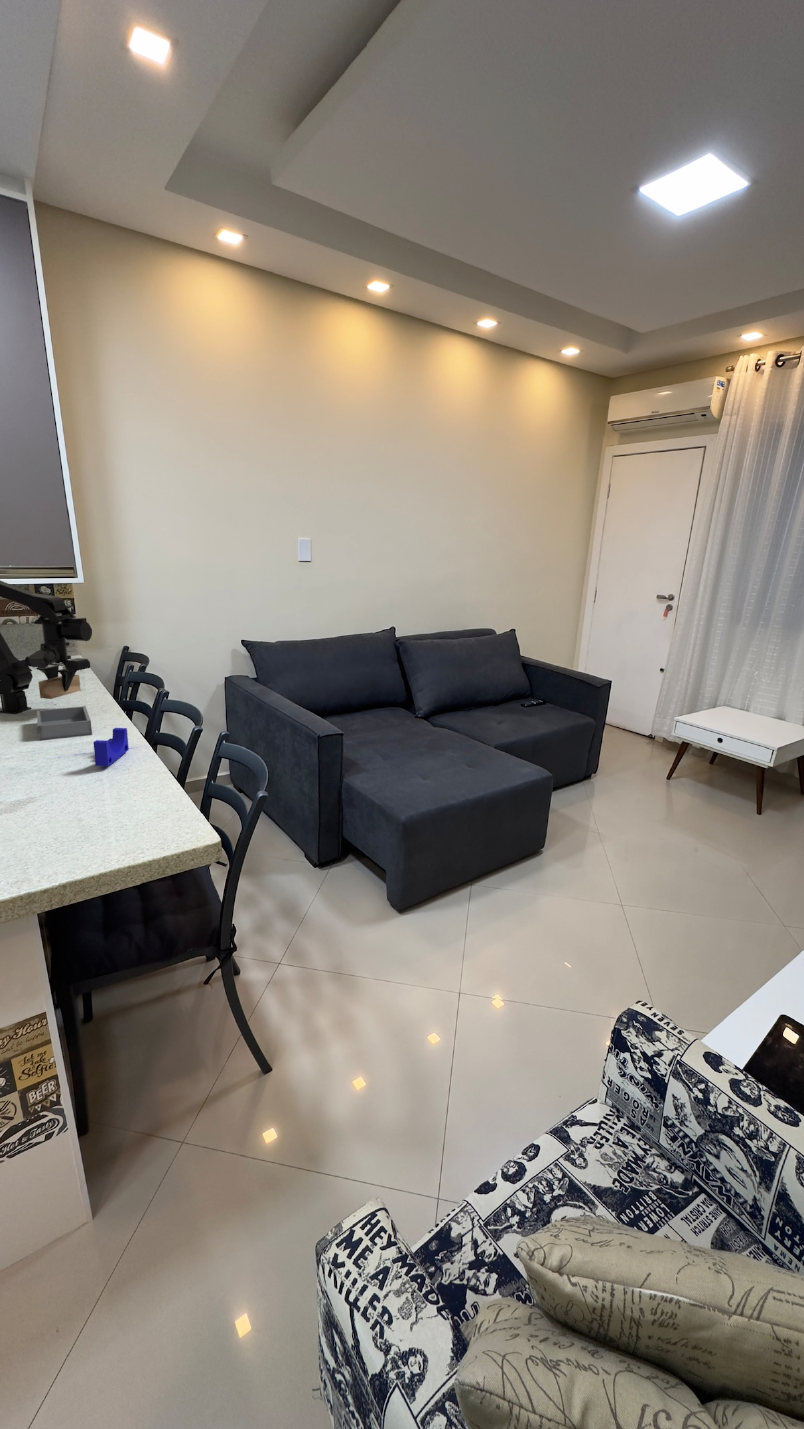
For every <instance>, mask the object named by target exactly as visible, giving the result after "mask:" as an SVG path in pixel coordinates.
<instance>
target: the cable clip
mask: <svg viewBox="0 0 804 1429" xmlns="http://www.w3.org/2000/svg"><path fill="white" fill-rule="evenodd" d="M128 736H129V735H128V728H127V727H114V728H113V729H112V738H109V739H107V740H104V739H103V740H99V739H97V740H94V741H93V752H94V754H93V755H94V762H95V763H94V764H95V767H96V766H97V767H109V766H110V765H111V764H113V763H115V761H117V760H118V759H119V758H121V757H122V756H123V755H124V754H125V753H126V752H128V751H129V750H130V749H129V738H128Z"/></svg>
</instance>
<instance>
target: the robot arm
mask: <svg viewBox="0 0 804 1429" xmlns="http://www.w3.org/2000/svg"><path fill="white" fill-rule="evenodd" d="M0 597H2V598H4V599H6V600H9V601H12V602H14V603H18V604H20V605H23V606H25V607H26V608H28V609H30V611H32V612H33V613H35V614H36V615H38V618H37V619H36V620H35V621H34V623H33V624H34V625H41V629H42V636H43V643H40V649H39V650H36V651H34V652H33V653H32V654H30V655H28V656H26V657H25V659H18V658H17V657H16V656H15V655H14V653H13V652H12V650H11V648H10V647H9V644H8V643H7V641H6V640H5V638H4V636H3V635H2V633H1V632H0V705H1V709H0V713H5V714H14V715H15V714H18V713H21V712H25V711H28V710H31V709H32V706H28V700H27V699H28V698H27V696H26V692H25V690H28V689H29V688H30V683H31V682H32V679H33V677H34V676H33V674H32V672H33V670H32V669H31V668H34V669H35V668H36V670H38V671H39V672H42V674H44V676H45V677H46V680H47V679H51V678H56V677H59V675H60V676H62V682H63V688H64V691H68V689H69V687H70V684H71V682H72V679H73V677H74V675H76V673H77V672H78V671H83V670H87V669H90V668H91V662H90V660H89V659H88V658H81V657H77V658H75V657H74V658H72V656H71V655H68V649H67V647H68V646H70V645H71V644H70V641H80V642H89V641H91V638H92V636H93V635H92V634H93V629H92V627H91V625H90V623H89V622H88V621H87V618H86V617H78V618H77V617H75V615H74V614H73V613H72V612H71V611H70V610H69V608H68V607H67V606H66V603H65V601H64V599H63V598H61V597H60V596H55V595H50V594H41V593H37V592H33V591H30V590H28V589H24V588H21V587H19V586H16V585H13V584H11V583H8V582H5V581H3V580H0ZM60 667H62V668H61V669H59V668H60Z"/></svg>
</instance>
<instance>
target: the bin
mask: <svg viewBox="0 0 804 1429" xmlns="http://www.w3.org/2000/svg"><path fill="white" fill-rule="evenodd" d="M36 720H37V731H38V732H37V733H38V739H39V741H47V740H48V741H49V740H55V739H56V740H57V739H68V738H75V737H76V738H77V737H82V736H83V737H84V736H86V737H87V736H91V735H93V729H92V728H93V727H92V720H91V718H90V715H89V712H88V709H87V707H86V705H82V706H72V707H61V708H49V709H39V710H36Z"/></svg>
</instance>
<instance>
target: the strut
mask: <svg viewBox="0 0 804 1429" xmlns="http://www.w3.org/2000/svg"><path fill="white" fill-rule="evenodd" d="M38 689H39V697H40V699H46V700H52V699H55V698H60V697H63V696H67V695H71V694H74V693H78V692H81V691H82V690H81V681H80V675H79V674H75V675H74V677H73V679H72V682H71V684H70V687H69V689H68V691H64V688H63V682H62V675H60V676H58V677H56V678H51V679H47V678H46V679H44V680H39V681H38Z"/></svg>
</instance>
